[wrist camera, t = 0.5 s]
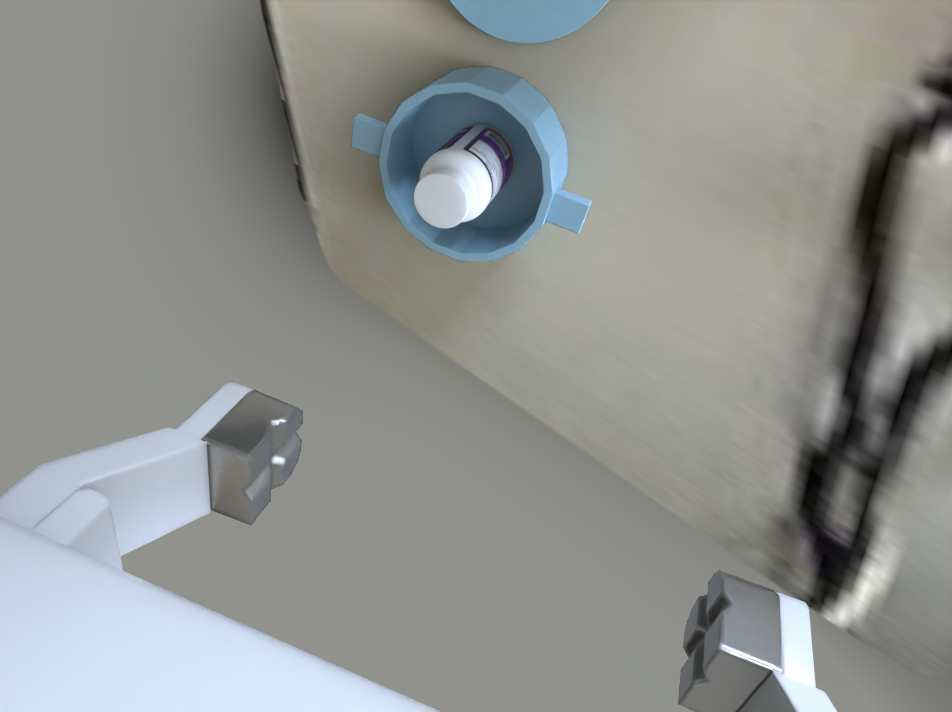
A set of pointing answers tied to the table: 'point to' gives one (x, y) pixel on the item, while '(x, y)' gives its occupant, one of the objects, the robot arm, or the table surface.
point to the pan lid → (528, 17)
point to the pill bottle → (464, 176)
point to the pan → (438, 120)
